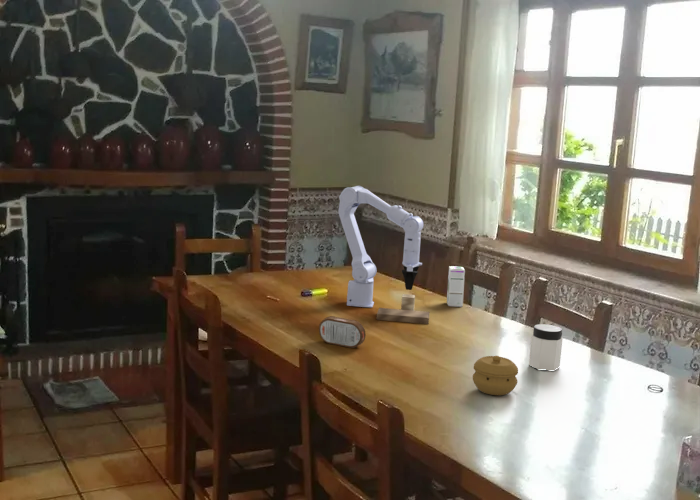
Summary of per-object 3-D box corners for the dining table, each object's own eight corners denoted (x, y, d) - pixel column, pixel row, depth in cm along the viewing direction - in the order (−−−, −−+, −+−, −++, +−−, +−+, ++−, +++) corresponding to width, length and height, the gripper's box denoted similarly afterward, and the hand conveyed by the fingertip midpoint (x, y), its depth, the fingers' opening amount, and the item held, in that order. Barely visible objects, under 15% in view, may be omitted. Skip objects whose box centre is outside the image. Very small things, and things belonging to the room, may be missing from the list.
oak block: (400, 313, 292) (401, 296, 291) (401, 310, 296) (402, 294, 295) (413, 314, 291) (414, 297, 290) (413, 311, 296) (415, 295, 295)
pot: (469, 383, 220) (472, 348, 219) (512, 386, 220) (515, 350, 218) (474, 398, 209) (477, 361, 207) (519, 401, 209) (523, 364, 207)
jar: (565, 370, 236) (569, 330, 234) (542, 373, 233) (547, 333, 230) (545, 361, 244) (549, 322, 242) (523, 363, 240) (527, 324, 238)
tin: (365, 348, 247) (366, 321, 246) (361, 350, 244) (362, 323, 243) (321, 339, 253) (322, 313, 252) (316, 342, 251) (318, 315, 249)
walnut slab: (376, 319, 281) (376, 313, 280) (378, 313, 290) (379, 307, 289) (428, 324, 279) (428, 318, 278) (429, 317, 288) (429, 311, 287)
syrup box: (462, 307, 306) (465, 269, 303) (447, 306, 306) (450, 268, 303) (461, 303, 311) (464, 266, 309) (445, 302, 311) (448, 265, 309)
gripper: (422, 254, 282) (419, 292, 285) (423, 247, 296) (421, 284, 299) (402, 253, 283) (399, 291, 285) (404, 246, 297) (402, 282, 300)
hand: (409, 287), depth 292 cm, fingers open, 7 cm apart
